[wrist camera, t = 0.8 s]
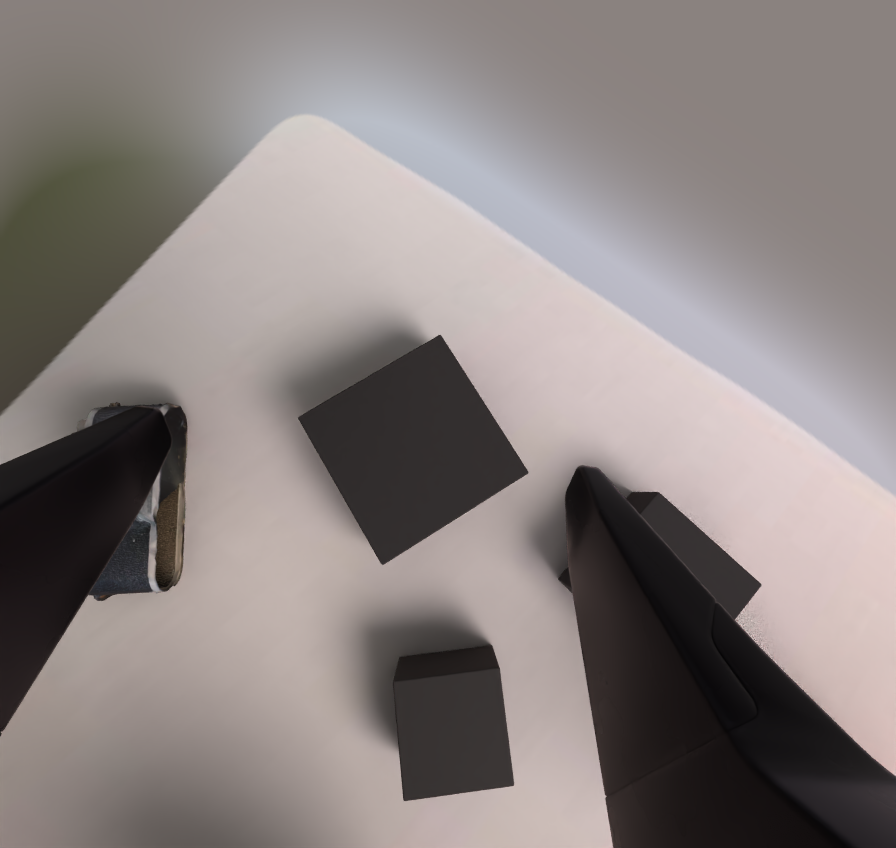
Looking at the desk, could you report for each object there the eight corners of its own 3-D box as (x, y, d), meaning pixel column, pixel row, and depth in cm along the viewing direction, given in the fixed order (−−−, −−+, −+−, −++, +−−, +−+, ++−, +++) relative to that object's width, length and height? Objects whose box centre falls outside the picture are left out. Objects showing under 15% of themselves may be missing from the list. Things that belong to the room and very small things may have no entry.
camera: (85, 596, 23) (7, 619, 19) (103, 408, 25) (34, 390, 21) (181, 592, 23) (123, 614, 19) (192, 404, 25) (141, 386, 21)
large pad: (518, 474, 24) (529, 472, 21) (389, 556, 24) (381, 565, 21) (440, 352, 25) (440, 333, 22) (314, 426, 25) (297, 417, 22)
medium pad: (722, 573, 24) (762, 584, 21) (648, 665, 23) (679, 691, 20) (632, 491, 24) (658, 491, 21) (557, 578, 24) (573, 591, 21)
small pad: (504, 746, 22) (514, 786, 19) (408, 760, 22) (403, 802, 19) (492, 644, 23) (499, 667, 20) (399, 656, 23) (392, 681, 20)
